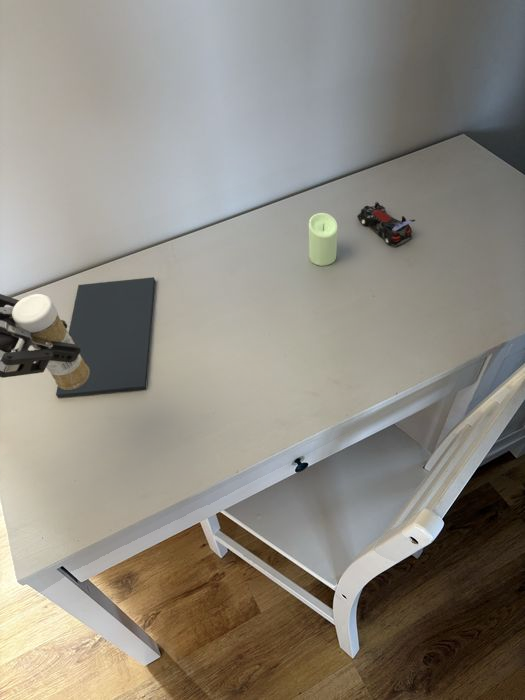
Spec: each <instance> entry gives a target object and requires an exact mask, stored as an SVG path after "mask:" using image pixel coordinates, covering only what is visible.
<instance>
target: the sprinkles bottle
mask: <svg viewBox="0 0 525 700" xmlns="http://www.w3.org/2000/svg"><path fill="white" fill-rule="evenodd" d="M19 300H20V301H19V302H18V303H17V304H16V305H15V306H14V308H13V310H12V317H13V319H14V321H15V323H16V324H17V326H18V327H19V328H21V329H24V330H27V331H29V332H31V333H32V334H33V336H34V337H37V338H41V339H44V340H47V341H50V342H51V341H56V342H63V343H70V344H75V343H74V341H73V339H72V338H71V336H70V335H69V330H67V328H65V326H64V325H63V323H62V321H61V320H62V319H61V318H60V316H59V313H58V309H57V307H56V305H55V303H54V302H53V300H52V299H51V298H50V297H49V296H48V295H46V294H42V293H34V294H29V295H27V296H25V297H23V298H21V299H19ZM32 348H33V350H39V347H36V346H32ZM46 369H47V371H48V372H49V373H50V375H51V376H52V377H53V379H54V381H55V384H56V385H57V387H58V386H59V387H60V388H62V389H64V390H72V389H76V388H78V387H80V386H81V385H83V384H84V383H85V382H86V381H87V379H88V377H89V374H90V373H89V372H90V371H89V367H88V366H87V365H86V364H85V362H84V360H83V359H82V357H81V355H80V353H79V355H78V357H77V359H76V360H75V361H73V362H70V363H69V362H59V361H49V363H48V365H47V367H46Z"/></svg>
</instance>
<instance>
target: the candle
mask: <svg viewBox="0 0 525 700" xmlns="http://www.w3.org/2000/svg"><path fill="white" fill-rule="evenodd" d="M338 228H339V226H338V222H337V221H336V218H334V217H333V216H332V215H331V214H328V213H326V212H318V213H315V214H313V215H312V216H311V217H310V218H309V220H308V259H309V260H310V262H311V263H313V264H314V265H316V266H323V267H324V266H328V265H329V266H330V265H331V264H333V263H334V262H335V261H336V260H337V252H338Z"/></svg>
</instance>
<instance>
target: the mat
mask: <svg viewBox="0 0 525 700" xmlns="http://www.w3.org/2000/svg"><path fill="white" fill-rule="evenodd" d="M77 285H78V286H77V291H76V296H75V300H74V304H73V309H72V315H71V319H70V324H69V329H68V333H69V335H70V336H71V338H72V339H73V341H74V343H75V344H77V345H78V346H79V347H80V349H81V351H80V355H81V357H82V359H83V360H84V362H85V364H86V365H87V366H88V367H89V371H90V372H89V373H90V374H89V377H88V379H87V381H86V382H85V383H84V384H83V385H81V386H80V387H78V388H76V389H72V390H64V389H62V388H60V387H59V386H58V385H57V387H56V392H55V396H56V397H57V398H58V399H63V398H73V397H74V398H75V397H83V396H84V397H85V396H94V395H105V394H114V393H115V394H117V393H125V392H136V391H144V390H145V391H147V384H148V372H149V360H150V347H151V339H152V336H151V335H152V325H153V314H154V313H153V312H154V299H155V290H156V288H155V287H156V279H155V277H154V276H152V277H143V278H132V279H122V280H112V281H101V282H93V283H85V284H84V283H83V284H77Z"/></svg>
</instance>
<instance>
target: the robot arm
mask: <svg viewBox="0 0 525 700" xmlns="http://www.w3.org/2000/svg"><path fill="white" fill-rule="evenodd" d="M20 300H21V299H16V298H13V297H11V296H8V295H5V294H2V293H0V378H3V379H4V378H12V377H18V376H27V375H34V374H41V373H44V372H45V371H46V369H47V368H46V367H47V365H48V363H49V361H59V362H69V363H70V362H73V361H75V360H76V359H77V357H78V355H79V353H80V351H81V349H80V347H79V346H78V345H77V344H70V343H63V342H56V341H51V342H50V341H47V340H44V339H41V338H37V337H34V336H33V334H32V333H31V332H29V331H27V330H24V329H21V328H19V327H18V326H17V324H16V323H15V321H14V319H13V317H12V310H13V308H14V306H15V305H16V304H17V303H18V302H19V301H20ZM60 320H61V321H62V323H63V325H64V326H65V328H66V329H67V328H68V324H67V322H66V321H65V320H64V319H60ZM20 339H21V342H20V344H19V346H18V347H16V346H17V345H18V342H19V341H20ZM33 346H36V347H39V350H35V349H32V350H30V349H29V348H30V347H33Z"/></svg>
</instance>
